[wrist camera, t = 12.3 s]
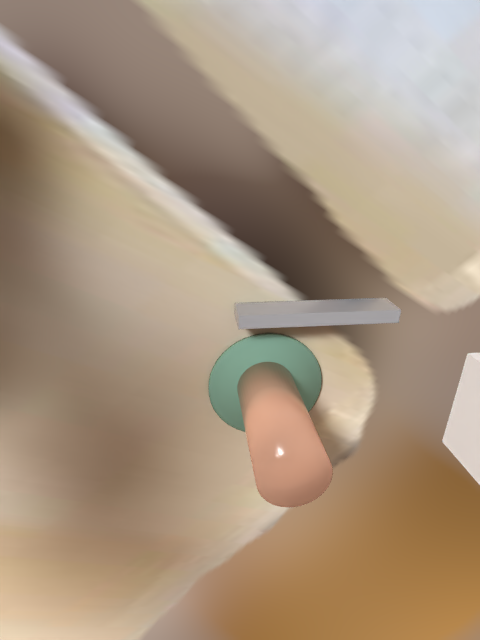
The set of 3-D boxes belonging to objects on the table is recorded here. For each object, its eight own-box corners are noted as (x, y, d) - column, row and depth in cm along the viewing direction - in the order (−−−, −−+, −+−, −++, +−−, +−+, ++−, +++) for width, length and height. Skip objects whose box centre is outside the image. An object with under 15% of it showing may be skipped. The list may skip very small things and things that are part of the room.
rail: (234, 315, 38) (238, 329, 35) (234, 302, 37) (238, 315, 35) (383, 310, 39) (398, 322, 37) (385, 297, 39) (400, 309, 36)
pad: (209, 434, 43) (209, 437, 42) (207, 335, 38) (207, 337, 38) (315, 427, 44) (316, 429, 44) (325, 330, 40) (326, 332, 39)
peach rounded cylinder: (237, 412, 42) (255, 510, 31) (237, 363, 39) (257, 449, 28) (291, 409, 42) (329, 503, 31) (295, 360, 40) (336, 443, 29)
